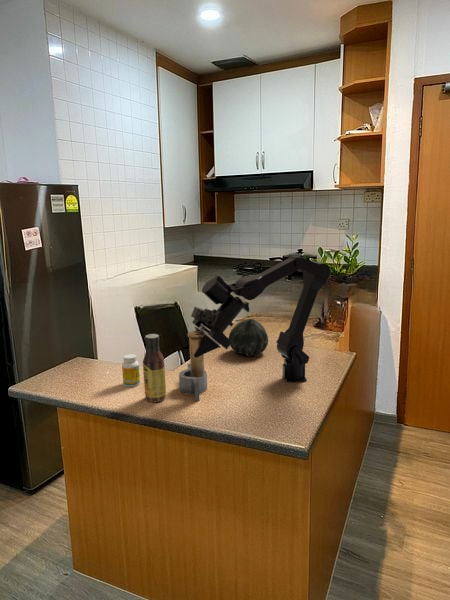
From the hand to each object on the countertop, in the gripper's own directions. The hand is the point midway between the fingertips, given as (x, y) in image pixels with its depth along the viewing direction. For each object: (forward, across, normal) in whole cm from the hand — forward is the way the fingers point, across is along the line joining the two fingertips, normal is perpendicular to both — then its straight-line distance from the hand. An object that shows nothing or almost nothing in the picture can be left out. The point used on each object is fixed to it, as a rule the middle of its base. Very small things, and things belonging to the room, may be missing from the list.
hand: (192, 354), depth 130 cm
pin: (+4, 0, +6) cm, 7 cm away
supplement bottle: (+20, -18, -1) cm, 28 cm away
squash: (-13, -30, +32) cm, 46 cm away
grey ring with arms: (+8, -6, +11) cm, 15 cm away
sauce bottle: (+17, -4, +2) cm, 18 cm away
